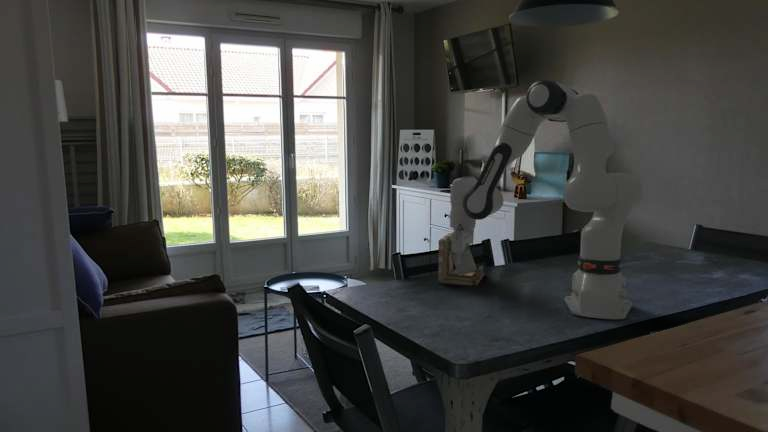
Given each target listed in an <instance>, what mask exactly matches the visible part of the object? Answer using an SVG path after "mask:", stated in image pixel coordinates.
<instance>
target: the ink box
mask: <svg viewBox="0 0 768 432" xmlns="http://www.w3.org/2000/svg"><path fill="white" fill-rule="evenodd" d="M451 243H452V240H450V241H447V244H448V247H449V251H450V254H451V257H452V259H453V266H454V267H455V271H457V273H458V275H459V276H461V275H464V274H467V273H470V272H476V271H477V269H478V268H477V265H476V263H475V261H474V257H473V254H472V251H471V249H470V245H469V246H468V243H467V248H466V249H465V250H464V251H463V252H462V263H461V264H457V263H456V256H455V253H452V251H451Z"/></svg>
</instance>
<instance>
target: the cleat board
mask: <svg viewBox="0 0 768 432" xmlns="http://www.w3.org/2000/svg"><path fill="white" fill-rule="evenodd" d="M450 240H452V232H449V233H447V234H446V235H444V236H443V237H442V238H440V239H438V263H437V264H438V265H437V266H438V267H437V269H438V273H437V274H438V276H437V278H438V279H437V281H438V283H437V284H446V285H447V284H448V285H459V286H470V287H477V285H478V284H479V283H480V282H481V281H482V279H483V277H484V276H485V272H484V271H485V266H484V265H479V267H478V268H477V270H475V271H473V272H470V273H467V274H464V275H461V276H459V275H458V273H457V270H456V269H455V270H454V262H453V259H452V257H451V254H450V251H449V247H448V244H447V241H450Z"/></svg>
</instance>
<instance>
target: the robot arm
mask: <svg viewBox="0 0 768 432" xmlns="http://www.w3.org/2000/svg"><path fill="white" fill-rule="evenodd" d="M546 120H548V121H549V122H557V123H558V122H559V123H565V122H566V125H567V129H568V135H569V137H570V138H569V139H570V142H571V148H572V153H573V166H572V167H573V168H572V169H573V170H572V173H571V175H570V177H569V179H567V181H566V182H565V184H564V186H563V190H562V197H563V201H564V203H565V205H566V206H567V207H568V208H569V209H571V210H573V211H579V212H584V213H591V212H593V215H592V217H591V219H590V221H588V223H587V224H586V225H584V226H583V228H582V230H581V233H580V250H579V252H580V253H579V255H578V259H577V268H578V269H577V270H576V271H575V272H574V273H572V281H571V290H570V293H571V295H568V296H567V295H566V296H564V302H565V304H566V306H567V307H568V309H569V311H570V312H571V314H572V315H575V316H580V317H585V318H591V319H592V318H594V319H603V320H625V319H627V316H628V315H629V313H630V311H631V308H632V306H633V302H632V301H628V293H629V292H628V291H626V290H627V289H628V288H627V287H628V284H626V277H625V276H624V275H623V274H622V273H621V271H622V258H621V248H622V247H621V245H622V237H623V236H622V235H623V230H624V227H625V224H626V221H627V219H628V217H629V215H630V213H631V211H632V210H633V208H634V207H635V206H636V205H637V204H638V203H639V202H640V200H642V196H643V186H642V183H641V181H640V180H639V179H638V178H637V177H636V176H635V175H631V174H627V173H623V172H612V173H611V172H608V173H607V172H606V171H607V170H606V163H607V159H608V158H609V157H610V156H611V155H612V153H613V151H614V145H613V142H612V141H613V140H612V136H611V131H610V128H609V123H608V120H607V116H606V113H605V110H604V107H603V106H602V103H601V102H600V99H599V97H598V96H597V95H595V94H593V93H590V92H584V93H578V91H576V90H575V89H572V88H570V87H569V86H567V85H565V84H563V83H561V82H556V81H554V80H550V79H541V80H538V81H536V82H534V83H532V84H531V86H530V87H529V88H528V90H527V93H526V95H522V96H520V97H517V98H516V100H514V102H513V104H512V105H511V107H510V108H509V110H508V112H507V113H506V116H505V118H504V120H503V122H502V124H501V127H500V129H499V131H498V134H497V137H496V140H495V142H494V146H493V148H492V150H491V153H490V155H489V156H488V158H487V161H486V163H485V165H484V167H483V168H482V171H481V173H480V175H479V177H478V179H476V178H475V177H474V176H473V175H469V176H468V175H467V176H461V177H455V179H454V180H453V181H452V182H451V187H450V201H449V202H450V208H451V209H450V213H449V227H450V228H451V229H453V230H452V232H451V233H452V243H451V251H452V253H455V256H456V263H457V264H461V263H462V252H463V251H464V250H465V249H466V248H467V243H468V246H469V247H470V246H471V245H472V243H473V242H474V241H473V240H474V231H475V228H476V222H477V221H478V220H484V219H486V218H487V217H489V216H490V215H494V214H495V213H497V212H498V211H499V210H501V209H502V207H503V205H504V196H503V193H502V192H501V190H500V189H499V188H497V187H498V186H499V185H498V184H499V182H500V180H501V178H502V176H503V175H504V172H505V170H506V169H507V168H508V167H510V165H511V164H512V163H513V162H515V161H516V160H517V159H518V158H520V157H521V156H523V155H524V154H525V153H526V152H527V150H528V149H529V147H530V146H531V144H532V142H533V140H534V137H535V136H536V132H537V130H538V128H539V126H540V125H541V123H542V122H544V121H546Z"/></svg>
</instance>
